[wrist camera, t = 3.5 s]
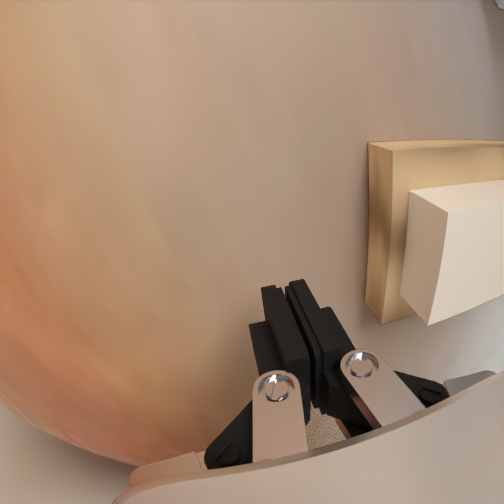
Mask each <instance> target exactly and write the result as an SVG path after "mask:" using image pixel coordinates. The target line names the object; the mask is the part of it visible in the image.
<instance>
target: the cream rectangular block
mask: <svg viewBox="0 0 504 504" xmlns="http://www.w3.org/2000/svg"><path fill="white" fill-rule="evenodd" d="M503 294H504V180H496V181H487V182H477V183H468V184H459V185H451V186H442V187H434V188H426V189H419V190H411V191H409V208H408V223H407V236H406V247H405V256H404V265H403V273H402V281H401V288H400V295H401V296H402V297H403V298H404V299H405V300H406V302H407V303H408V304H409V305H410V306H411V307H412V309H413V310H414V311H415V312H416V313H417V314H418V316H419V317H420V318H421V319H422V320H423V321H424V323H425V324H426V325H427V326H429V325H431V324H434V323H437V322H439V321H442V320H445V319H447V318H450V317H452V316H455V315H457V314H460V313H462V312H464V311H467V310H469V309H471V308H474V307H476V306H478V305H481V304H483V303H485V302H487V301H490V300H492V299H494V298H496V297H498V296H500V295H503Z"/></svg>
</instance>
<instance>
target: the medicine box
mask: <svg viewBox="0 0 504 504" xmlns="http://www.w3.org/2000/svg"><path fill="white" fill-rule="evenodd" d="M494 1H495V3H496V4H497V6H498V8H499V9H504V0H494Z"/></svg>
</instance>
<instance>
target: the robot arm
mask: <svg viewBox="0 0 504 504" xmlns="http://www.w3.org/2000/svg"><path fill="white" fill-rule="evenodd" d="M261 293H262V300H263V307H264V314H265V320H266V321H263V322H258V323H253V324H249V329H250V334H251V340H252V345H253V349H254V354H255V359H256V363H257V367H258V372H259V376H260V377H259V378H258V379H257V380H256V381H255V383H254V386H253V399H252V400H251V401H250V403H249V404H248V405H247V406H246V407H245V408H244V409H243V410H242V411H241V412H240V414H239V415H238V416H237V417H236V418H235V419H234V420H233V421H232V422H231V423H230V424H229V425H228V426H227V428H226V429H225V430H224V431H223V432H222V433H221V434H220V435H219V436H218V437H217V438H216V439H215V440H214V441H213V442H212V443H211V444H210V445H209V447H208V448H207V449H206V450H205V451H202V452H199V453H195V451H194V452H190V453H187V454H184V455H180V456H177V457H173V458H170V459H166V460H163V461H159V462H155V463H151V464H147V465H143V466H140V467H138V468H136V469H135V470H134V471H133V472H132V474H131V476H130V478H129V486H130V489H129V490H127V491H125V492H123V493H122V494H120V495H119V496H118V497H117V498H116V499H115V500H114V501H113V503H112V504H504V371H503V372H500V373H497V374H496V373H494V372H492V371H482V372H478V373H475V374H471V375H467V376H463V377H459V378H455V379H451V380H446V381H444V384H440V383H437V382H435V381H431V380H427V379H423V378H419V377H416V376H412V375H408V374H405V373H401V372H398V371H394V370H392V369H391V368H390V367H389V365H388V364H387V363H386V362H385V361H384V360H383V359H382V358H381V356H379V355H378V354H377V353H376V352H373V351H371V350H367V349H357V350H356V349H355V347H354V346H353V344H352V342H351V340H350V339H349V337H348V335H347V334H346V332H345V330H344V328H343V327H342V325H341V323H340V322H339V320H338V318H337V317H336V315H335V313H334V312H333V310H332V309H331V307H325V308H321V309H320V307H319V306H318V304H317V302H316V300H315V298H314V297H313V295H312V293H311V291H310V289H309V288H308V286H307V284H306V282H305V280H304V279H300V280H296V281H291V282H289V286H285V295H284V293H283V290H282V288H281V287H280V288H276V286H275V285H272V286H267V287H262V288H261ZM285 296H286V298H285ZM311 401H312V404H313V407H314V408H318V407H319V409H320V411H321V414H322V415H323V414H326V413H327V415H329V416H332V417H334V418H335V420H336V423H337V425H338V426H339V428H340V430H341V431H342V433H343V434H344V436H345V438H346V440H343V441H340V442H337V443H333V444H330V445H327V446H323V447H320V448H316V449H312V450H309V451H308V445H307V437H306V429H305V426H306V425H307V423H308V422H309V421H310V409H311Z"/></svg>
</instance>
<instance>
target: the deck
mask: <svg viewBox="0 0 504 504" xmlns="http://www.w3.org/2000/svg"><path fill="white" fill-rule="evenodd" d="M368 160H369V239H368V262H367V279H366V293H365V303H366V305H367V306H368V307H369V309H370V310H371V312H372V313H373V314H374V316H375V317H376V319H377V320H378V321H379V323H380V324H381V325H383V324H386V323H389V322H392V321H396V320H399V319H402V318H405V317H408V316H411V315H414V314H417V313H416V312H415V311H414V310H413V309H412V307H411V306H410V305H409V304H408V303H407V302H406V300H405V299H404V298H403V297H402V296H401V295H400V288H401V281H402V273H403V265H404V256H405V247H406V236H407V223H408V208H409V191H411V190H419V189H426V188H434V187H442V186H451V185H459V184H468V183H477V182H487V181H496V180H504V141H496V140H411V141H389V142H373V143H368Z"/></svg>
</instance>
